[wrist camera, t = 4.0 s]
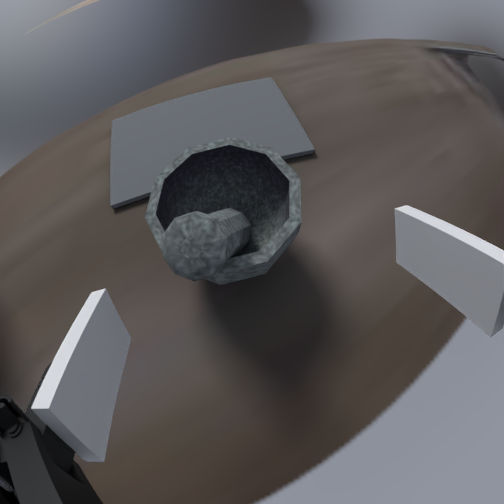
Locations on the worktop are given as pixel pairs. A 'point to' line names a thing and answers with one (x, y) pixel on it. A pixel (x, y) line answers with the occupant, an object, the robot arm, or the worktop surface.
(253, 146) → the mortar and pestle
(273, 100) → the rubber mat
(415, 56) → the worktop surface
